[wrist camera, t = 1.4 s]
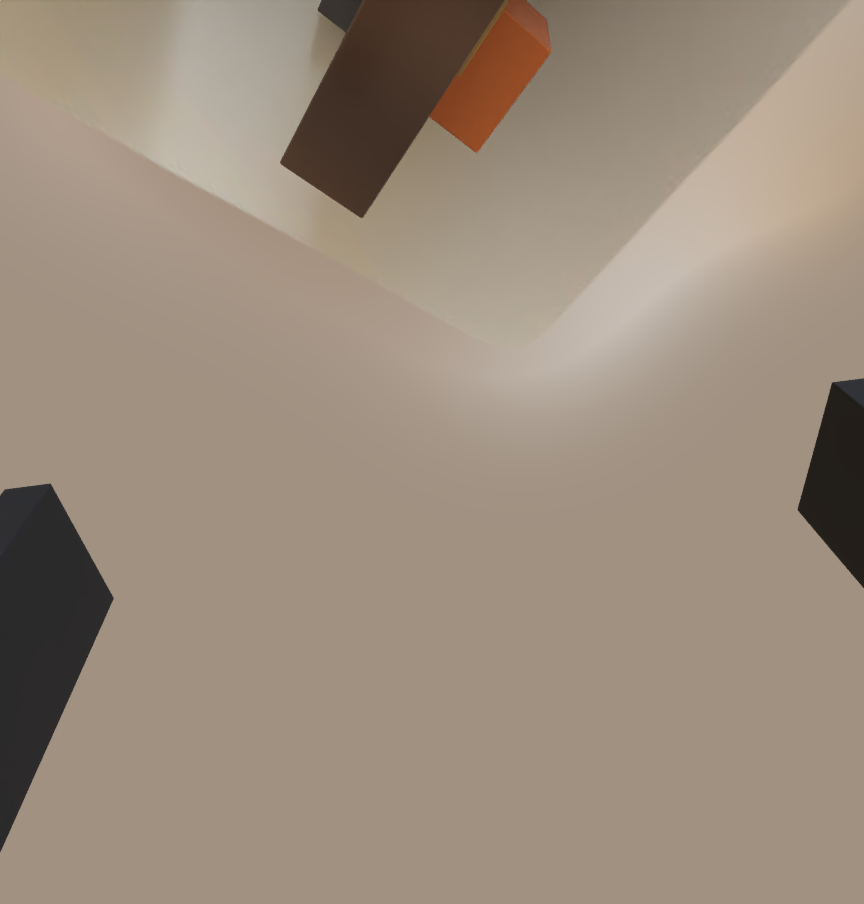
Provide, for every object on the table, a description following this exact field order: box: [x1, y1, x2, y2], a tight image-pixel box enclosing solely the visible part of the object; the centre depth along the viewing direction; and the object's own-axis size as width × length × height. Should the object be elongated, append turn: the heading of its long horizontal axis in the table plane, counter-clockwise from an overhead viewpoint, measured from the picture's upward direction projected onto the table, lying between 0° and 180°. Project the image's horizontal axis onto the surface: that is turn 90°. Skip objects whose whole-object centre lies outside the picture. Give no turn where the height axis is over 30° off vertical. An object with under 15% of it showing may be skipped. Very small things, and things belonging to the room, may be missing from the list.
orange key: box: [429, 0, 551, 153], centre depth 23 cm, size 4×4×4 cm
